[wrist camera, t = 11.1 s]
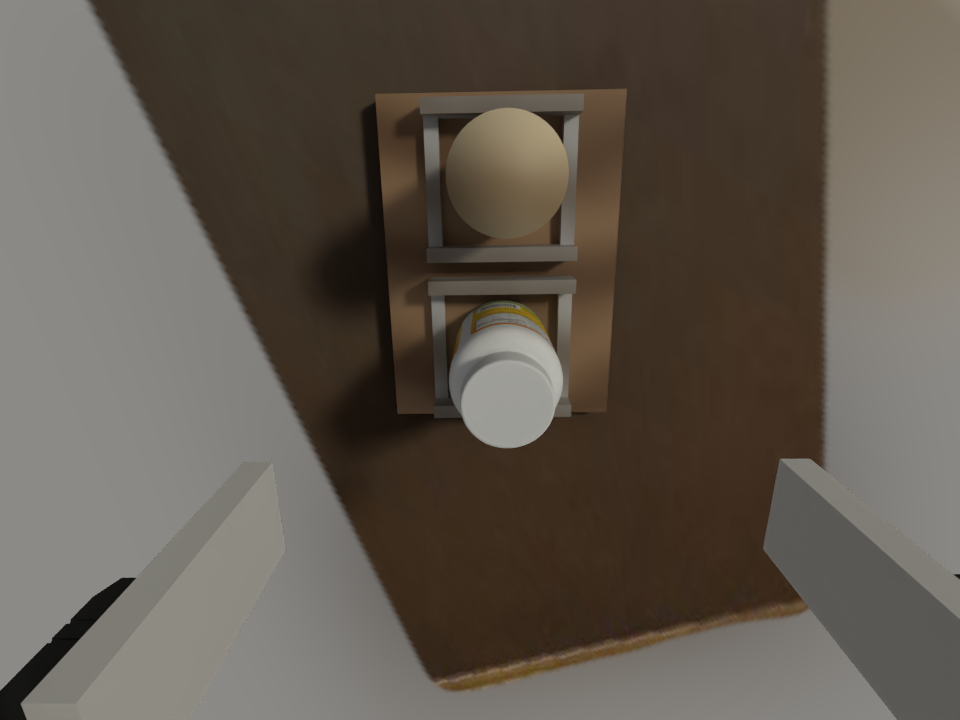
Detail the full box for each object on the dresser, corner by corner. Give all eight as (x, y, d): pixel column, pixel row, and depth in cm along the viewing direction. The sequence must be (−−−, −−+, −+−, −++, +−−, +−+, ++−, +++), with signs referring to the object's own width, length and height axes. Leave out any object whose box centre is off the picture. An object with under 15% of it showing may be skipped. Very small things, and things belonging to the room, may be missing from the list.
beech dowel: (457, 138, 27) (443, 108, 18) (544, 136, 27) (571, 106, 18) (459, 228, 28) (447, 239, 20) (542, 226, 28) (566, 237, 20)
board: (379, 98, 27) (367, 86, 25) (621, 93, 27) (636, 81, 24) (400, 406, 33) (392, 426, 30) (602, 404, 33) (613, 424, 30)
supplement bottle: (503, 402, 31) (509, 487, 22) (438, 345, 30) (415, 408, 21) (565, 341, 30) (600, 404, 21) (500, 279, 29) (506, 316, 20)
